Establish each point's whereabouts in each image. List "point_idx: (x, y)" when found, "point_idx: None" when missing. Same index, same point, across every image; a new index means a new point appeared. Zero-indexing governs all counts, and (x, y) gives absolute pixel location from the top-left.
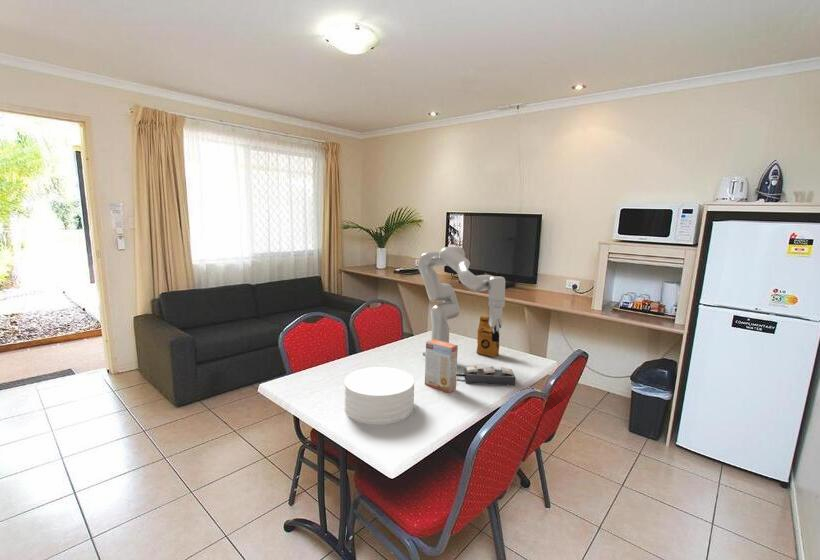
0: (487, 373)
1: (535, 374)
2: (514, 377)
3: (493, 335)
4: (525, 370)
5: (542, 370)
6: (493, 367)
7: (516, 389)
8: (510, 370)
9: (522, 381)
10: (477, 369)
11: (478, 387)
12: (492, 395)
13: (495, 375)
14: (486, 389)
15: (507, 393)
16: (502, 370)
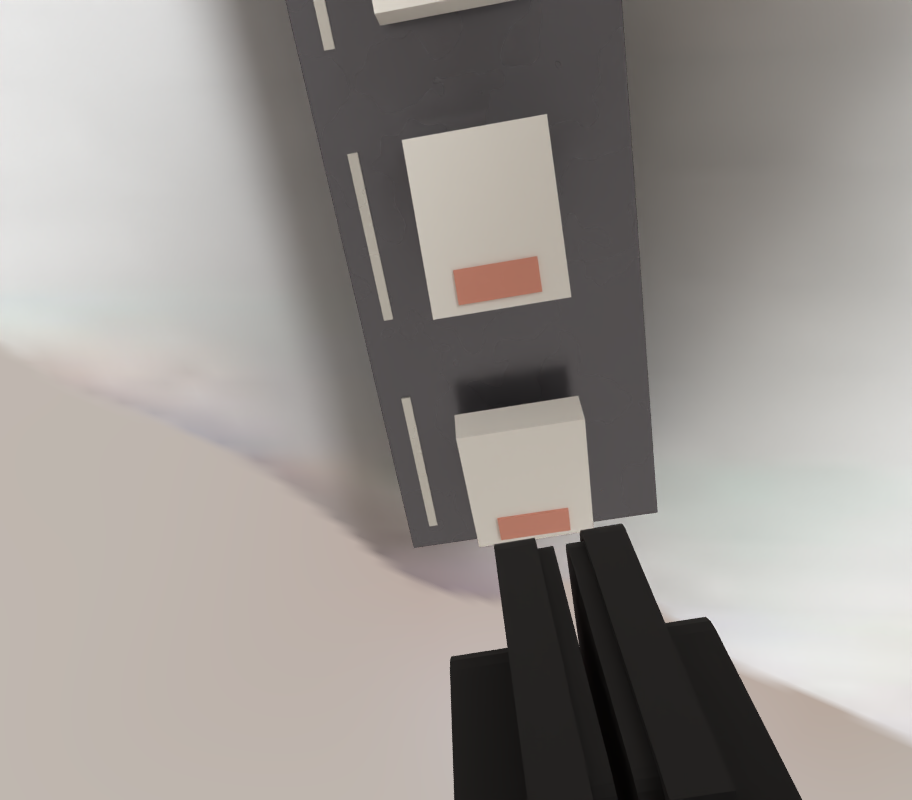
0: None
1: (785, 676)
2: (413, 535)
3: (525, 754)
4: (895, 598)
5: (906, 735)
6: (523, 300)
7: (322, 500)
8: (519, 520)
9: (562, 560)
10: (375, 14)
11: (197, 58)
12: (37, 254)
13: (402, 311)
14: (179, 174)
15: (175, 414)
16: (473, 424)
